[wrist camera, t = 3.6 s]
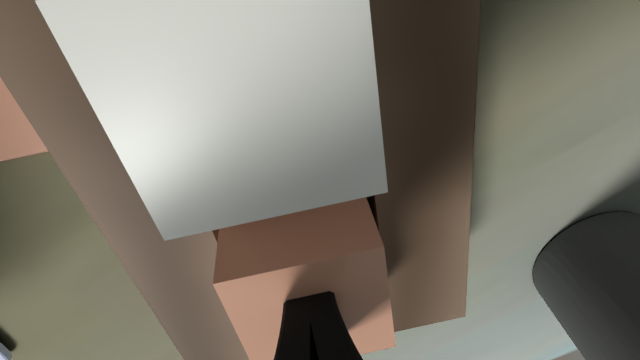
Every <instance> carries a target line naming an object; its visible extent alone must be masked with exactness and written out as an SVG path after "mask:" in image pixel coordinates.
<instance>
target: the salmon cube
mask: <svg viewBox="0 0 640 360" xmlns="http://www.w3.org/2000/svg"><path fill="white" fill-rule="evenodd" d="M213 286H214V288H215V290H216V292H217V294H218V296H219V298H220V300H221V302H222V304H223V306H224V308H225V310H226V312H227V314H228V317H229V319H230V321H231V323H232V325H233V327H234V329H235V331H236V333H237V335H238V337H239V339H240V341H241V343H242V345H243V347H244V349H245V351H246V354H247V356H248V358H249V360H274V356H275V352H276V348H277V343H278V338H279V333H280V327H281V321H282V313H283V304H284V303H285V302H286V300H291V299H295V298H300V297H304V296H309V295H314V294H318V293H323V292H327V291H331V292H333V293H334V294H335V298H336V302H337V305H338V308H339V311H340V314H341V316H342V319H343V321H344V323H345V326H346V328H347V330H348V332H349V334H350V336H351V338H352V340H353V342H354V344H355V346H356V348H357V350H358V352H359V354H365V353H369V352H374V351H378V350H383V349H388V348H392V347H396V344H395V335H394V327H393V318H392V309H391V301H390V292H389V284H388V275H387V266H386V258H385V249H384V245H383V242H382V239H381V237H380V234H379V231H378V228H377V226H376V223H375V220H374V217H373V215H372V212H371V209H370V206H369V204H368V201H367V198H366V197H364V198H360V199H355V200H350V201H346V202H341V203H337V204H332V205H327V206H323V207H318V208H314V209H309V210H304V211H300V212H295V213H291V214H286V215H281V216H277V217H272V218H267V219H263V220H258V221H254V222H249V223H244V224H240V225H235V226H231V227H226V228H221V229H219V233H218V242H217V251H216V259H215V268H214V277H213Z"/></svg>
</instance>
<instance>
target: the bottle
mask: <svg viewBox="0 0 640 360" xmlns="http://www.w3.org/2000/svg"><path fill="white" fill-rule="evenodd" d="M532 275H533V282H534V285H535V287H536V289H537V290H538V292H539V294H540V295H541V297H542V298H543V299H544V301H545V302H546V304H547V305H548V307H549V308H550V310H551V311H552V312H553V314H554V315H555V317H556V318H557V320H558V321H559V322H560V324H561V325H562V327H563V328H564V330H565V331H566V333H567V334H568V335H569V337H570V338H571V340H572V341H573V343H574V344H575V346H576V347H577V348H578V350H579V351H580V352H581V354H582V355H583V357H584V358H585V360H640V216H638V215H636V214H633V213H629V212H610V213H604V214H599V215H596V216H593V217H590V218H588V219H585V220H582V221H580V222H578V223H576V224H574V225H572V226H571V227H569V228H568V229H566V230H565V231H563V232H562V233H560V234H559V235H558V236H556V237H555V238H554V239H553V240H552V241H551V242H550V243H549V244H548V245H547V246H546V247H545V248H544V249H543V251H542V252H541V254H540V255H539V256H538V258H537V260H536V262H535V265H534V268H533V272H532Z"/></svg>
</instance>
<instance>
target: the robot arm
mask: <svg viewBox="0 0 640 360" xmlns="http://www.w3.org/2000/svg"><path fill="white" fill-rule="evenodd" d="M11 358H12V354H11V352H10V351H9V350H8V349H7V348H6V347H5V346H4V345H3V344H2V343H1V342H0V360H10V359H11ZM274 360H363V359H362V357H361V355H360V354H359V352H358V350H357V348H356V346H355V344H354V342H353V340H352V338H351V336H350V334H349V332H348V330H347V328H346V326H345V323H344V321H343V319H342V316H341V314H340V311H339V308H338V305H337V302H336V298H335V294H334V293H333V292H331V291H327V292H323V293H318V294H314V295H309V296H304V297H300V298H295V299H291V300H286V302H285V303H284V304H283V313H282V321H281V327H280V333H279V338H278V343H277V348H276V352H275V356H274Z"/></svg>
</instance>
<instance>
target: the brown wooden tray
mask: <svg viewBox="0 0 640 360" xmlns="http://www.w3.org/2000/svg"><path fill="white" fill-rule="evenodd" d="M369 4H370V14H371V24H372V34H373V45H374V55H375V65H376V75H377V85H378V95H379V106H380V116H381V126H382V136H383V146H384V156H385V167H386V177H387V187H388V192H387V193H383V194H378V195H373V196H369V197H366V198H367V201H368V204H369V206H370V209H371V212H372V215H373V217H374V220H375V223H376V226H377V228H378V231H379V234H380V237H381V239H382V242H383V245H384V249H385V258H386V266H387V275H388V284H389V292H390V301H391V309H392V318H393V327H394V332H396V331H401V330H405V329H410V328H414V327H419V326H424V325H428V324H433V323H437V322H442V321H446V320H451V319H456V318H460V317H465V313H466V293H467V272H468V252H469V231H470V211H471V190H472V170H473V150H474V129H475V109H476V88H477V68H478V47H479V27H480V6H481V0H369ZM0 77H1V79H2V81H3V82H4V84H5V85H6V87H7V88H8V90H9V91H10V93H11V94H12V96H13V97H14V99H15V101H16V102H17V104H18V105H19V107H20V108H21V110H22V111H23V113H24V114H25V116H26V117H27V119H28V120H29V122H30V124H31V125H32V127H33V128H34V130H35V131H36V133H37V134H38V136H39V137H40V139H41V140H42V142H43V144H44V145H45V147H46V148H47V150H48V151H49V153H50V154H51V156H52V157H53V159H54V160H55V162H56V164H57V165H58V167H59V168H60V170H61V171H62V173H63V174H64V176H65V177H66V179H67V180H68V182H69V184H70V185H71V187H72V188H73V190H74V191H75V193H76V194H77V196H78V197H79V199H80V200H81V202H82V203H83V205H84V207H85V208H86V210H87V211H88V213H89V214H90V216H91V217H92V219H93V220H94V222H95V223H96V225H97V227H98V228H99V230H100V231H101V233H102V234H103V236H104V237H105V239H106V240H107V242H108V243H109V245H110V247H111V248H112V250H113V251H114V253H115V254H116V256H117V257H118V259H119V260H120V262H121V263H122V265H123V266H124V268H125V270H126V271H127V273H128V274H129V276H130V277H131V279H132V280H133V282H134V283H135V285H136V286H137V288H138V290H139V291H140V293H141V294H142V296H143V297H144V299H145V300H146V302H147V303H148V305H149V306H150V308H151V310H152V311H153V313H154V314H155V316H156V317H157V319H158V320H159V322H160V323H161V325H162V326H163V328H164V329H165V331H166V333H167V334H168V336H169V337H170V339H171V340H172V342H173V343H174V345H175V346H176V348H177V349H178V351H179V353H180V354H181V356H182V357H183V359H184V360H249V358H248V356H247V354H246V351H245V349H244V347H243V345H242V343H241V341H240V339H239V337H238V335H237V333H236V331H235V329H234V327H233V325H232V323H231V321H230V319H229V317H228V314H227V312H226V310H225V308H224V306H223V304H222V302H221V300H220V298H219V296H218V294H217V292H216V290H215V288H214V286H213V277H214V268H215V259H216V251H217V242H218V233H219V229H217V230H212V231H208V232H203V233H198V234H194V235H189V236H185V237H180V238H175V239H171V240H166V241H164V239H163V237H162V236H161V234H160V232H159V230H158V228H157V226H156V225H155V223H154V221H153V219H152V217H151V215H150V213H149V212H148V210H147V208H146V206H145V204H144V202H143V200H142V199H141V197H140V195H139V193H138V191H137V189H136V187H135V186H134V184H133V182H132V180H131V178H130V176H129V174H128V173H127V171H126V169H125V167H124V165H123V163H122V162H121V160H120V158H119V156H118V154H117V152H116V150H115V149H114V147H113V145H112V143H111V141H110V139H109V137H108V136H107V134H106V132H105V130H104V128H103V126H102V124H101V123H100V121H99V119H98V117H97V115H96V113H95V111H94V110H93V108H92V106H91V104H90V102H89V100H88V99H87V97H86V95H85V93H84V91H83V89H82V87H81V86H80V84H79V82H78V80H77V78H76V76H75V74H74V73H73V71H72V69H71V67H70V65H69V63H68V61H67V60H66V58H65V56H64V54H63V52H62V50H61V48H60V47H59V45H58V43H57V41H56V39H55V37H54V36H53V34H52V32H51V30H50V28H49V26H48V24H47V23H46V21H45V19H44V17H43V15H42V13H41V11H40V10H39V8H38V6H37V4H36V2H35V0H0Z"/></svg>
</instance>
